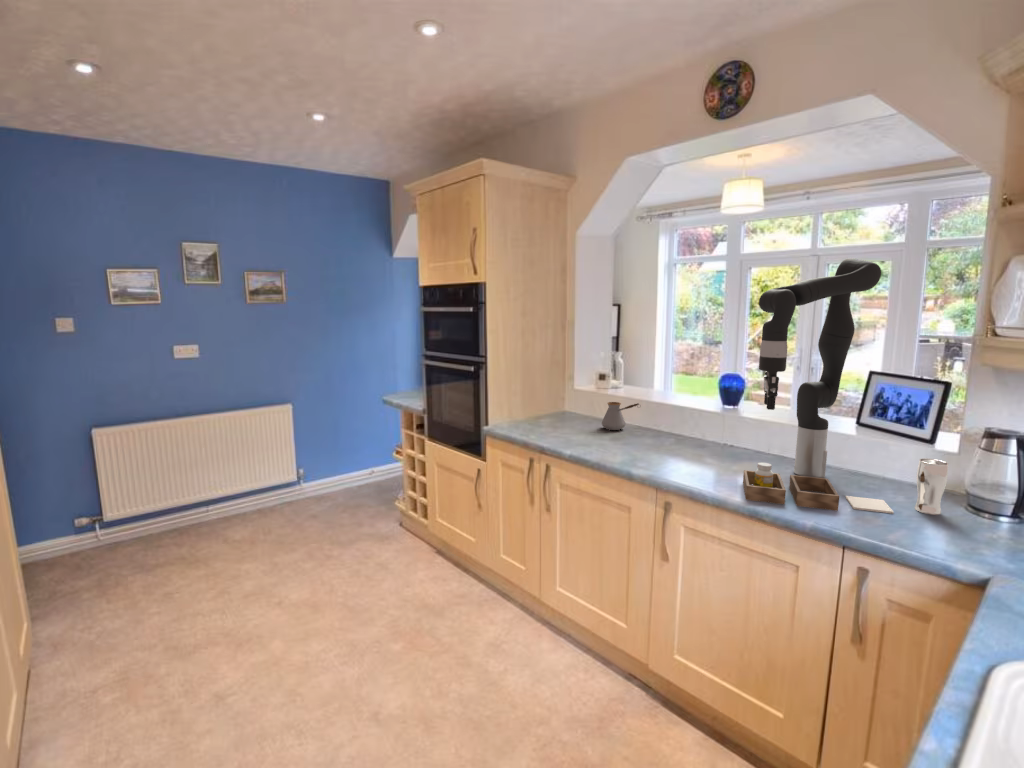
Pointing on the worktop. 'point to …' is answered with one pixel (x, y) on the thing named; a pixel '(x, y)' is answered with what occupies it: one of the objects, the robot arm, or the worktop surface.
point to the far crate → (764, 489)
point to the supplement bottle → (763, 475)
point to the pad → (869, 504)
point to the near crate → (810, 498)
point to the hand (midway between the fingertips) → (769, 407)
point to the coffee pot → (615, 416)
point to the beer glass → (930, 485)
